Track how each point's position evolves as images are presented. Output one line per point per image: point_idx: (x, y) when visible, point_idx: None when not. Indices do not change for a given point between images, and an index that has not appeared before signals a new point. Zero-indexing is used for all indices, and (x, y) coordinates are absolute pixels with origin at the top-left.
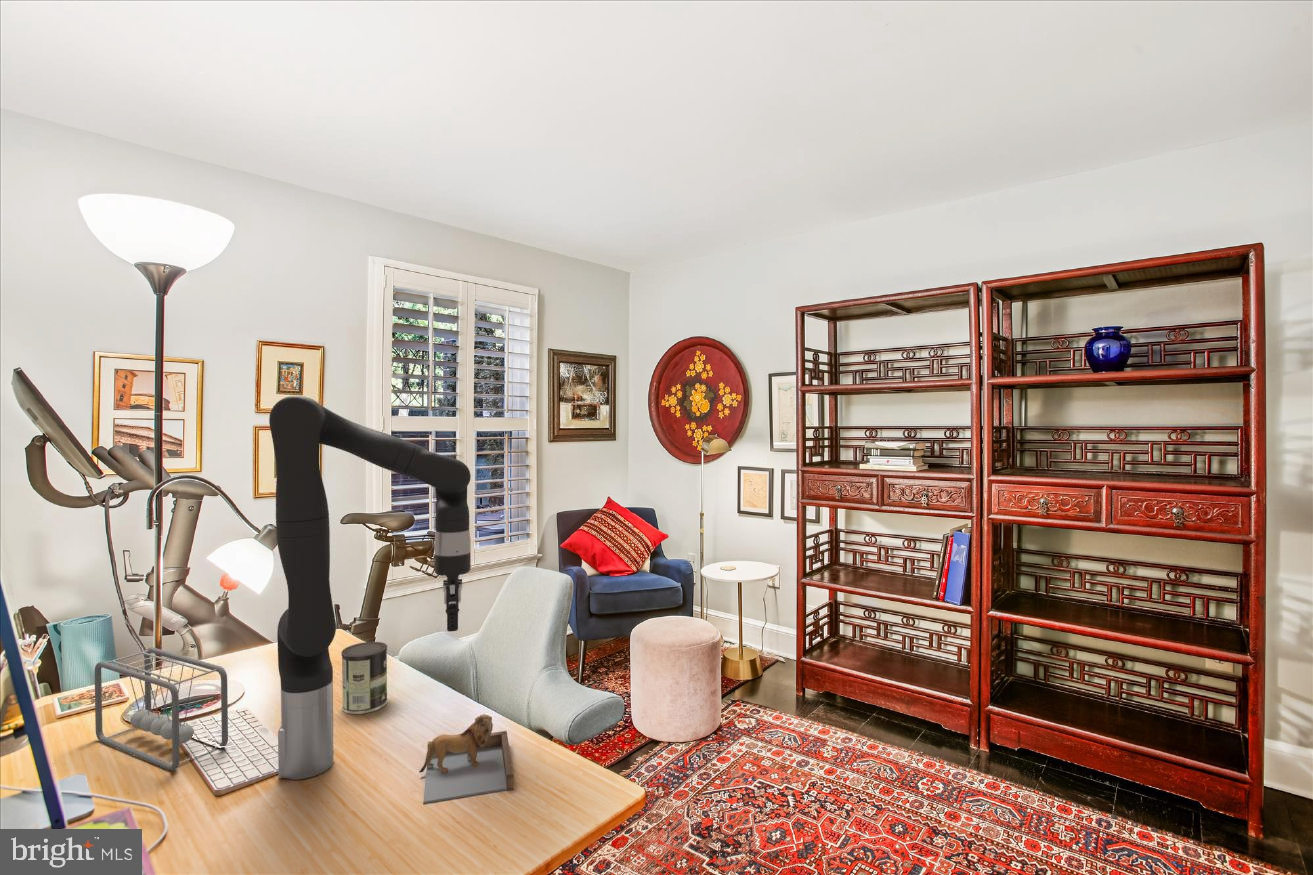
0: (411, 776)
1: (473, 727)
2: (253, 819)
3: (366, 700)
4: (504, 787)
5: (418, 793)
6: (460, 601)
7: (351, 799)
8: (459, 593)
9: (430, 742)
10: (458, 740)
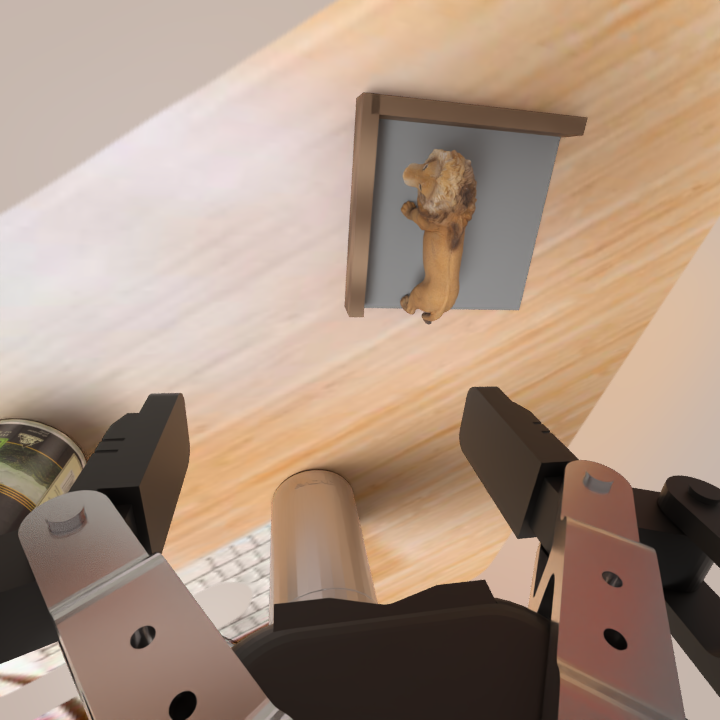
0: (415, 334)
1: (469, 215)
2: (436, 524)
3: (68, 475)
4: (556, 142)
5: (479, 318)
6: (598, 528)
7: (445, 420)
8: (662, 648)
9: (356, 311)
10: (461, 254)
